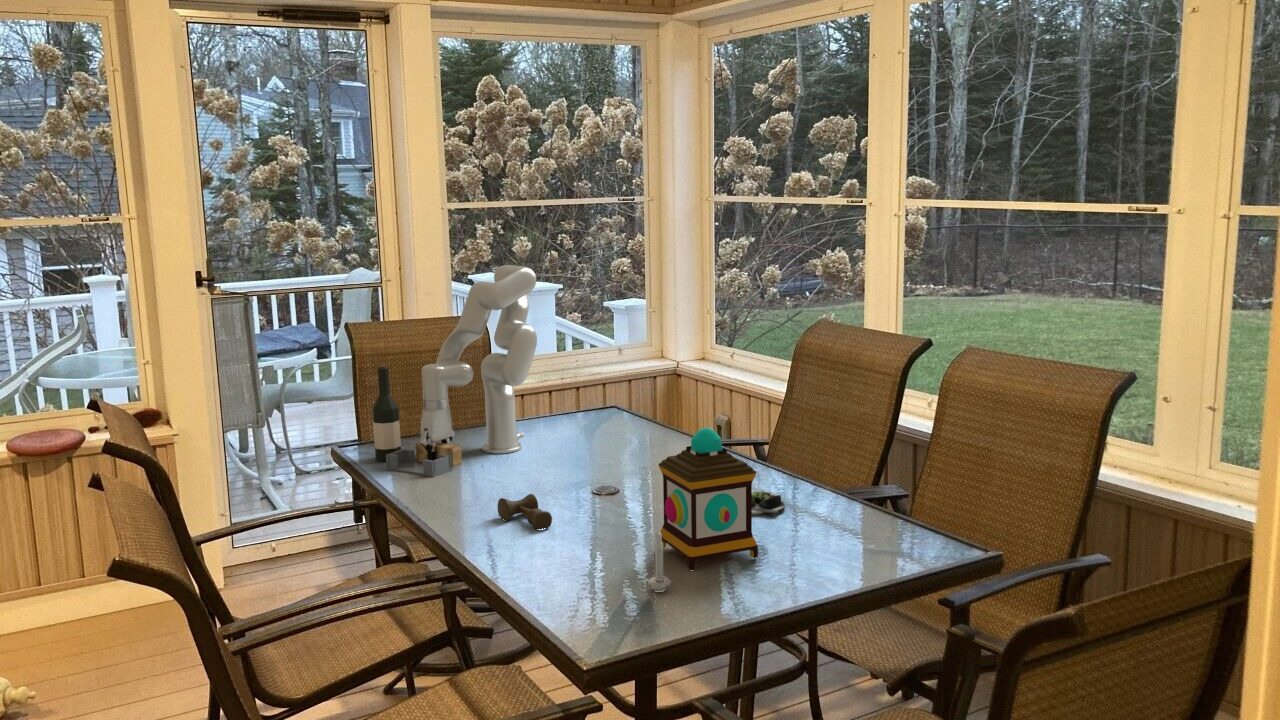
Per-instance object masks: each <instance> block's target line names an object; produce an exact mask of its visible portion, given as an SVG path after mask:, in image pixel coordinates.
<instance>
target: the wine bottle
mask: <svg viewBox="0 0 1280 720" xmlns="http://www.w3.org/2000/svg"><path fill="white" fill-rule="evenodd" d="M389 371H390V370H389V368H388V366H387V364H385V365H384V364H382V365H378V368H377V383H378V396H377V398H376V400H375V402H374V404H373V405H372V407H371V411H372V425H373V426H372V427H373V440H374V455H375V456H374V457H375V461H376V462H377V463H386V454H389V453H393V452H396V451H399V450H402V445H401V444H402V443H401V441H402V439H401V425H400V411H399V406H398V405H397V402H396V401H395V400H394V399H393V396H392V395H391V391H390V375H389V374H390V373H389Z"/></svg>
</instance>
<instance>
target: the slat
mask: <svg viewBox="0 0 1280 720" xmlns="http://www.w3.org/2000/svg"><path fill="white" fill-rule="evenodd" d="M426 442H427V441H426ZM414 445H415V454H416V455H415V456H416V458H415V459H416V461H415V462H417V461H420V462H419V463H423V460H425V459H426V460H428V457H427V451H426V450H425V448H424V447H423V446H422V445H421V444H420V441H419V442H416V443H415V444H414ZM430 446H432V443H430ZM435 451H436V456H437V459H439V455H440V454H444V455H451V462H452V468H456V467H458V466H460V464H461V465H462V464H463V459H462V445H457V444H452V443H451V444H445V443H441V442H439V441H437V442H436V445H435ZM457 465H458V466H457Z"/></svg>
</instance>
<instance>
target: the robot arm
mask: <svg viewBox="0 0 1280 720" xmlns="http://www.w3.org/2000/svg"><path fill="white" fill-rule="evenodd" d="M493 281H494V282H491V281H478V282H475V283H473V284H472V286H471V287H470V288H469V291H468V294H467V296H466V297H467V298H466V299H465V302H464V306H463V308H462V311H461V315H460V318H459V320H458V323H457V325H456V326H455V328H454V329H453V330H452V332H450V334H449V335H448V337H447V338H446V339H445V340H444V342H443V344H442V345H441V347H440V350H439V353H438V355H437V358H436V362H435V363H429V364H425V365H424V366H423V367H421V380H422V381H421V382H422V384H421V385H422V402H423V409H422V410H421V416H420V441H419V442H420V444H421V445H422V446H423V447H424V448H425V450H426V451H427V457H428V460H432V461H433V460H436V459H437V456H436V451H435V445H436V442H440V443H445V444H452V443H451V442H452V441H453V438H454V436H455V434H456V431H455V430H454V429H453V420H452V415H451V414H452V413H451V409H450V406H449V394H448V387H463V386H466V385H468V384H470V383H471V381H473V378H474V376H475V375H474V369H473V368H472V366H471V365H469V364H468V363H466V362H464V361H460V357H461V355H462V353H463V351H465V349H466V347H468V346H469V344H472V343H473V342H474V341H476V340H478V339H479V338H481V337H483V335H484V334H485V332H486V328H487V324H488V322H489V320H490V316H491V313H492V311H499V310H500V314H499V318H498V321H497V324H496V328H495V330H494V331H495V332H494V336H493V341H494V343H495V346H496V347H498V348H499V349H501V350H505V351H507V352H506V353H501V352H494V353H493V352H492V353H490V354H487V355H485V357H484V358H483V360H482V362H481V364H480V373H481V374H480V375H481V379H482V382H483V390H484V401H485V403H484V404H485V406H484V407H485V423H486V424H485V427H486V429H485V430H486V443H485V444H484V445H482V446H481V447H482V451H483V452H484V453H488V454H496V455H497V454H500V455H501V454H509V453H510V454H511V453H514V452H518V451H520V450H522V443H520V442H519V440H520V439H523V438H525V432H523V431H520V432H517V425H516V424H517V420H516V419H517V418H516V399H515V397H516V396H515V389H514V387H519V386H520V385H522V384H523V383H524V382H525V381H526V379H527V377H528V375H529V373H530V370H531V366H532V363H533V360H534V356H535V352H536V349H537V346H538V336H537V332H536V330H535V328H534V327H533V326H532V325H530V324H528V323H527V318H528V314H529V309H530V308H529V307H530V303H529V297H528V294H530V293H531V292H532V291H533V290H534V288H535V287H536V284H537V275H536V273H535V271H533V269H531V267H527V266H524V265H523V266H522V265H520V266H519V265H510V264H504V265H501V266H498V267H497V268H496V269H495V272H494V274H493ZM426 441H427V442H426ZM430 443H432V446H430Z"/></svg>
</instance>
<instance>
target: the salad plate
mask: <svg viewBox="0 0 1280 720" xmlns="http://www.w3.org/2000/svg"><path fill="white" fill-rule="evenodd" d="M785 508H786V505H785V503H784V501H783V499H782V496H781V494H777V493H773V492H772V493H771V492H767V491H763V490H762V491H760V490H757V491H752V515H767V516H773V515H772V514H776V515H778V514H777V513H779V514H781V513H783V512H784V510H785ZM782 511H783V512H782ZM780 512H781V513H780Z"/></svg>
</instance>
